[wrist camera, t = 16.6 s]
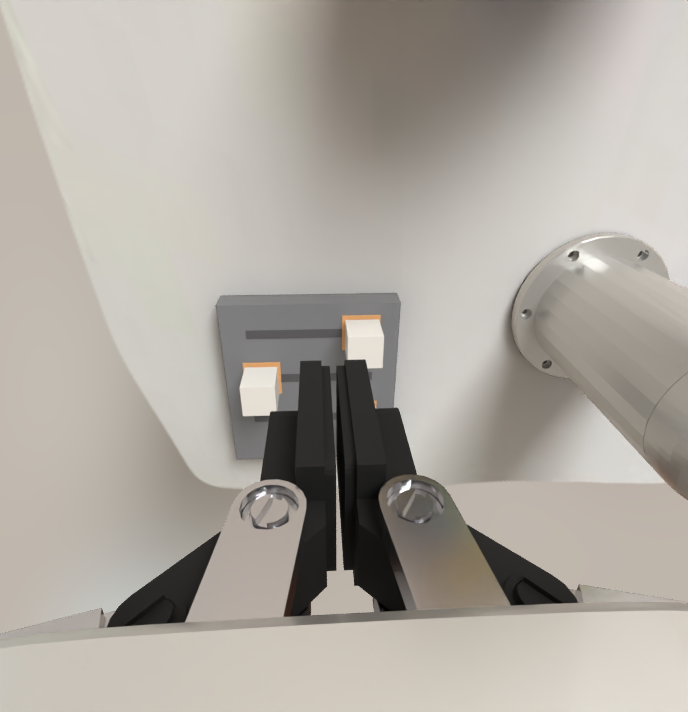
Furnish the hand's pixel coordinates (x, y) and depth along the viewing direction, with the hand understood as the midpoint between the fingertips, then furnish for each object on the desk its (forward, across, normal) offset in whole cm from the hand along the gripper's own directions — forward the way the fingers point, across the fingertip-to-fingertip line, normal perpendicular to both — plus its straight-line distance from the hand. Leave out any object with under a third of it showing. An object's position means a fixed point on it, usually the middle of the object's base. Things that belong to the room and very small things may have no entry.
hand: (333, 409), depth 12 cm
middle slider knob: (+23, +5, +13) cm, 27 cm away
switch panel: (+25, +1, +13) cm, 28 cm away
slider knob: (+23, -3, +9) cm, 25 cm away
